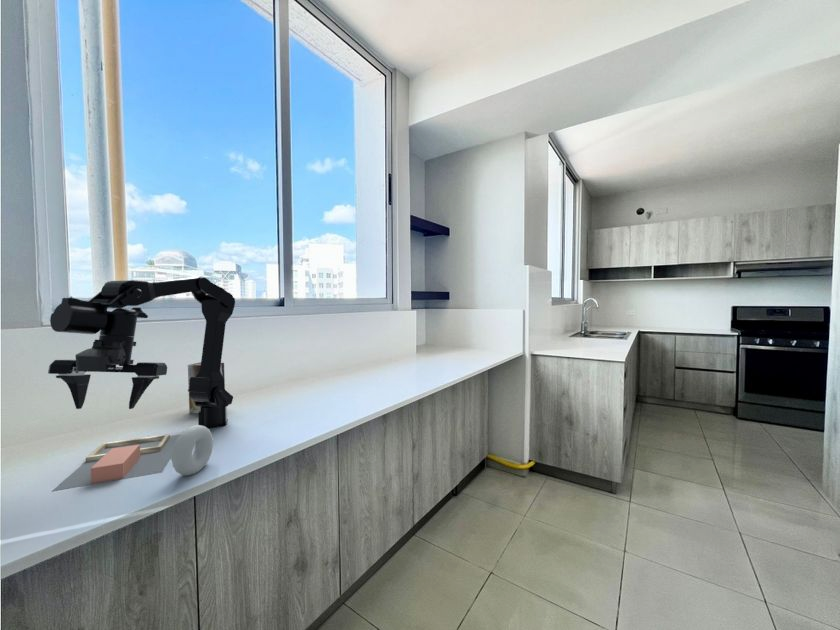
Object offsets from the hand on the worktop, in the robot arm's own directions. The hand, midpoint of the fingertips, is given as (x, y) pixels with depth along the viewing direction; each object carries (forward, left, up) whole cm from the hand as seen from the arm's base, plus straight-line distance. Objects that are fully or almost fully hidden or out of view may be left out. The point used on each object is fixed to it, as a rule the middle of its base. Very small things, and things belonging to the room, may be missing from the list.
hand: (105, 408), depth 72 cm
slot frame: (-1, -10, -13) cm, 17 cm away
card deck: (-2, +2, -13) cm, 13 cm away
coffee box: (-13, -38, -14) cm, 42 cm away
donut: (-17, +9, -14) cm, 24 cm away
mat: (-3, -4, -13) cm, 14 cm away
